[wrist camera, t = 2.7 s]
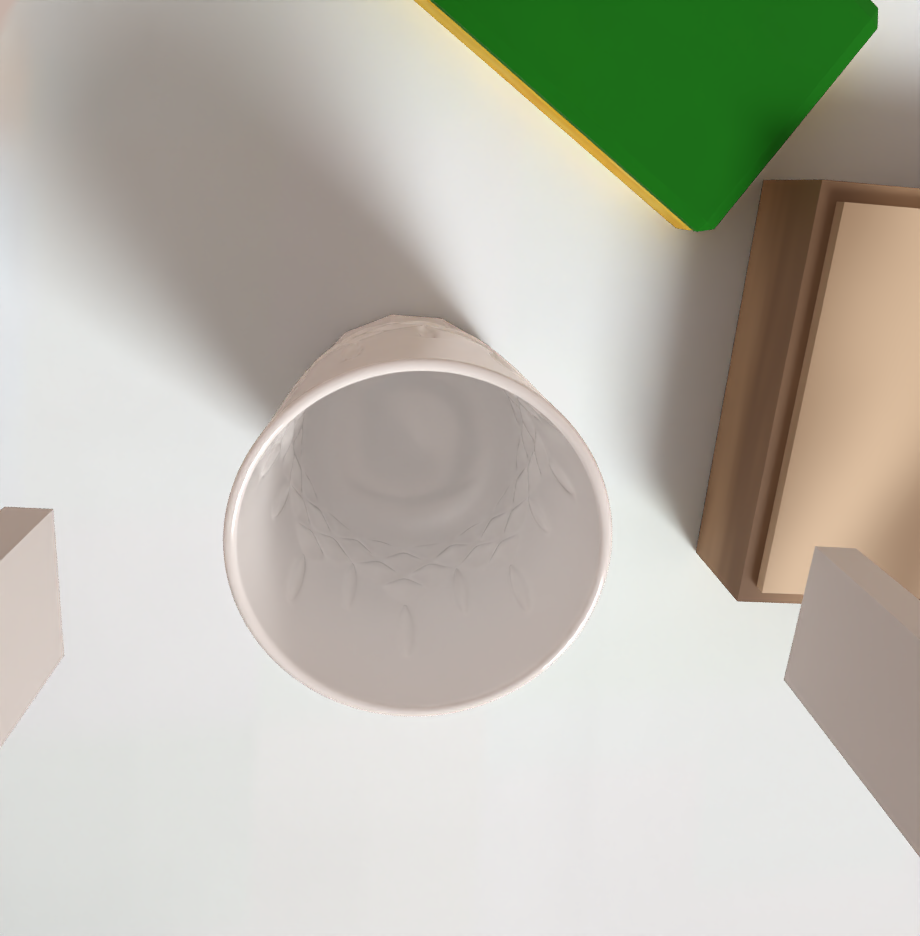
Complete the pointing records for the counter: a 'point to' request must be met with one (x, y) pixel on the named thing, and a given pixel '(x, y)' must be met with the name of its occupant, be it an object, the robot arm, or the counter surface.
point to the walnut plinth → (821, 393)
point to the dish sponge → (669, 82)
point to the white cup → (416, 524)
